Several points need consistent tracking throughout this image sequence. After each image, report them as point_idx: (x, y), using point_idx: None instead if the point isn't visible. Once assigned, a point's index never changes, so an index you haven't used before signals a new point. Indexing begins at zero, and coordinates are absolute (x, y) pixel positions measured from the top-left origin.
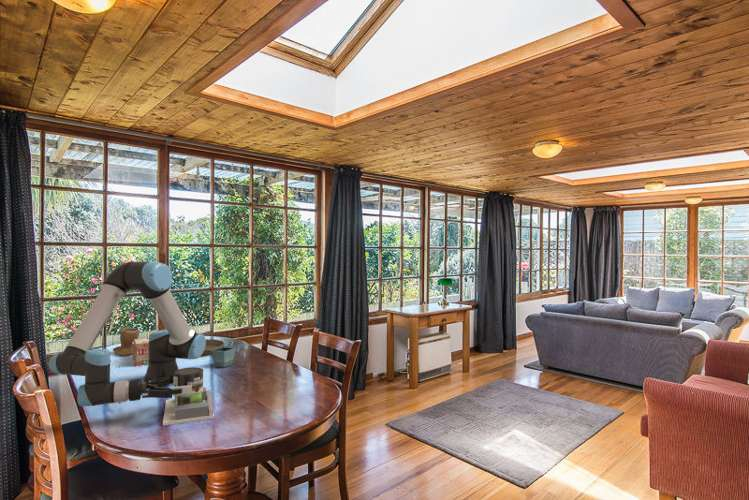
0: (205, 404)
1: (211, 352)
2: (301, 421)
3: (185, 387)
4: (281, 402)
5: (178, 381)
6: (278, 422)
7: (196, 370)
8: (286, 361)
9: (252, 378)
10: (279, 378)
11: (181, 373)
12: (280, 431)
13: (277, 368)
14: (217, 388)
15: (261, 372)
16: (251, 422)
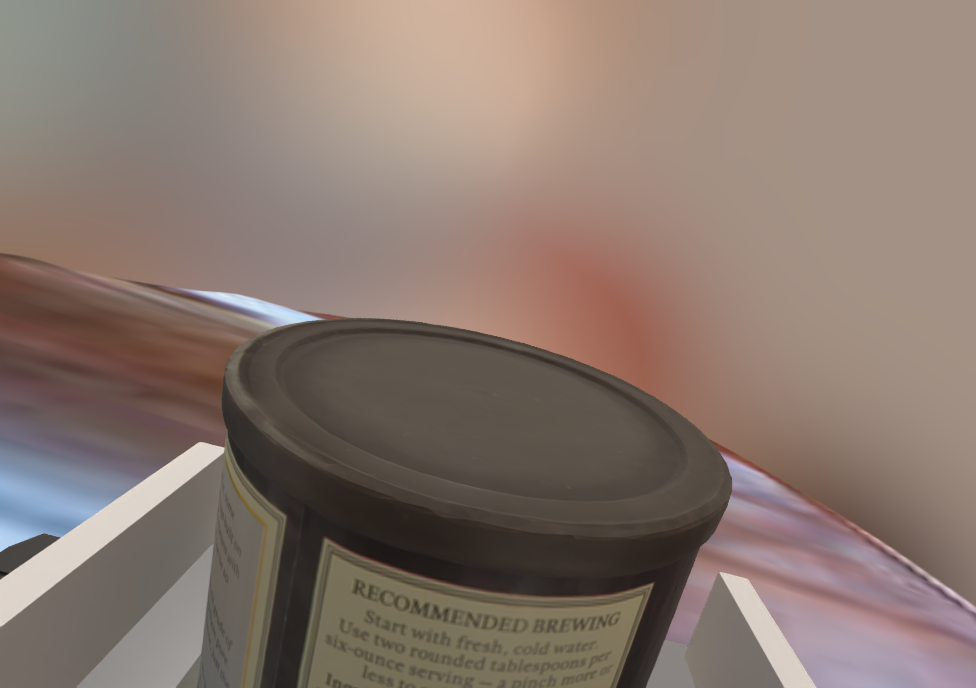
0: (681, 661)
1: None
2: (745, 475)
3: (786, 662)
4: None
5: (638, 660)
6: (758, 513)
7: (490, 360)
8: (43, 262)
9: (94, 354)
10: (231, 337)
11: (608, 473)
12: (855, 542)
13: (88, 293)
14: (10, 478)
15: (54, 317)
16: (764, 573)
